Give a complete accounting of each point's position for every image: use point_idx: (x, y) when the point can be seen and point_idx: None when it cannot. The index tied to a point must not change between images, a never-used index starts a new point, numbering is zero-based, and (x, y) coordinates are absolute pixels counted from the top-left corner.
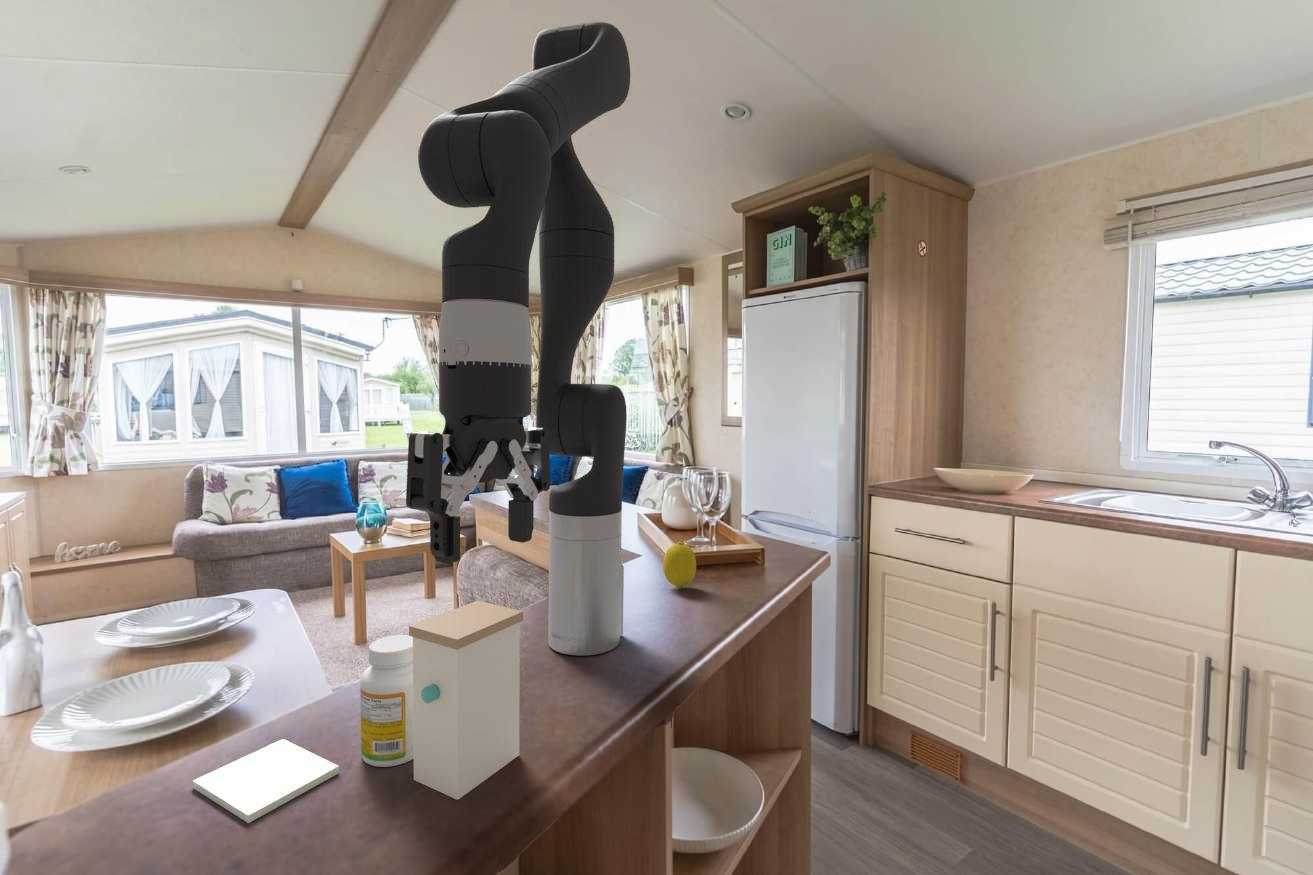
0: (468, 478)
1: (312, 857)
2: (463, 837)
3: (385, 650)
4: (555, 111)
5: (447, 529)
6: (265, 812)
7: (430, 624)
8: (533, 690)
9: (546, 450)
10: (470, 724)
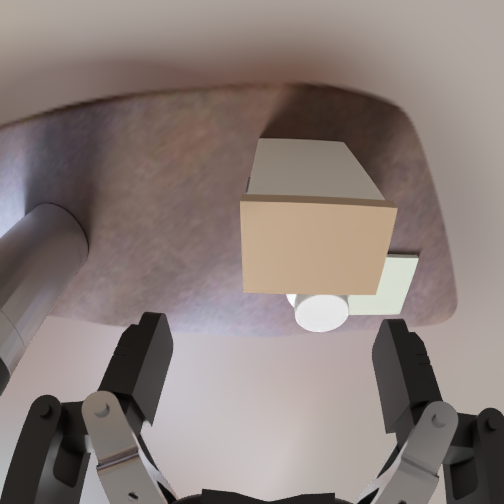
0: (427, 495)
1: (430, 191)
2: (376, 105)
3: (343, 307)
4: None
5: (425, 381)
6: (407, 255)
7: (360, 278)
8: (154, 211)
9: (11, 498)
10: (339, 160)
